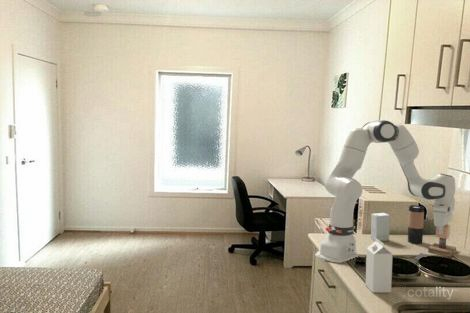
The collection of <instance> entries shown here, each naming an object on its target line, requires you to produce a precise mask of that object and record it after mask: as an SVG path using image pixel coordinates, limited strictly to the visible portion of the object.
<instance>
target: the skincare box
mask: <svg viewBox="0 0 470 313" xmlns="http://www.w3.org/2000/svg"><path fill="white" fill-rule="evenodd" d="M390 218H391V216H390V214H388V213H385V212H378V213H376V212H375V213H371V218H370V223H371V224H370V231H371V232H370V239H371V240H373V241H374V242H375V241H376V239H378V240H379V241H381V242H385V241H386V242H387V241H388V242H389V241H390V220H391V219H390Z"/></svg>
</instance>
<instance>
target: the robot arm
mask: <svg viewBox="0 0 470 313" xmlns="http://www.w3.org/2000/svg"><path fill="white" fill-rule="evenodd" d="M371 143H375V144H381V143H387V144H389V146H390V147H391V150H392V151H393V153H394V155H395V157H396V158H397V161H398V162H399V165H400V167H401V170H402V171H403V174H404V177H405V178H406V182H407V189H408V191H409V193H410V194H411V195H412V196H414V197H418V198H422V199H424V200H434V204H433V206H432V210H433V225H434V227H435V228H436V227H438V229H439V234H443V232H444V230H443V228H444V226H445V225H449V223H450V222H452V219H453V211H455V203H456V200H455V194H456V179H455V177H454V176H453V175H449V174H444V173H437V175H434V176H433V177H432V178H430V179H429V178H428V179H425V178H423V177H422V176H420V173H419V172H418V169H417V167H416V165H415V161H414V160H415V159H417V157H418V156H419V153H420V150H419V147H418V144H417V142H416V140H415V138H414V137H413V135H412V134H411V132H410V131H409V129H407V127H406V126H405V125H404V124H400V123H398V124H394V123H393V122H391V121H389V120H385V119H384V120H372V121H369V122H367V123H365V124H364V125H363V126H361V127H356V128H353V129H351V131H350V132H349V134H348V136H347V138H346V139H345V143H344V145H343V147H342V148H343V149H342V150H341V154H340V157H339V159H338V161H337V164H336V165H335V167H334V168H333V170H332V172H331V173H330V174H329V175H328V176H327V177H326V178H325V180H324V184H323V186H324V188H325V190H326V191H327V192H328V193H329V194H330V195H332V196H335V197H334V198H335V199H334V203H333V206H331V208H330V211H329V224H328V226H326V227H325V231H326V232H327V234H326V235H325V237H324V238H323V239H322V242H321V243H320V247H319V250H318V251H317V252H315V254H314V257H316V258H317V259H320V260H322V261H327V262H332V263H337V264H341V263H344V262H348V261H351V260H353V258H354V259H356V258H355V257H357V258H359V257H360V255H359V253H357V239H356V238H355V236H354V233H355V232H354V230H355V228H354V212H355V210H354V209H355V207H356V203H357V201H358V199H359V198H361V196H362V194H363V186H362V184H361V183H360V181H359V180H357V179H355V178H353V177H354V176H355V174H356V173H357V172H358V171H360V169H361V168H362V165H363V163H364V161H365V157H366V154H367V151H368V147H369V145H370V144H371ZM358 256H359V257H358ZM350 259H351V260H350Z"/></svg>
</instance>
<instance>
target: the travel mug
mask: <svg viewBox="0 0 470 313" xmlns="http://www.w3.org/2000/svg"><path fill="white" fill-rule="evenodd" d="M424 219H425V207H424V206H422V205H417V204H416V205H415V204H414V205H413V204H411V205H410V206H408V221H407V242H408V243H410V244H413V245H422V244H423V241H424V240H423V238H424V224H425V223H424V222H425V220H424Z"/></svg>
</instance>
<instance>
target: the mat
mask: <svg viewBox="0 0 470 313" xmlns="http://www.w3.org/2000/svg"><path fill="white" fill-rule="evenodd" d="M427 256H433V255H432V254H427V253H424V252H423V253H419V254H418V255H416V256H415V257H414V258H413V260H416V261H418V260H419V259H420V258H422V257H427Z"/></svg>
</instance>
